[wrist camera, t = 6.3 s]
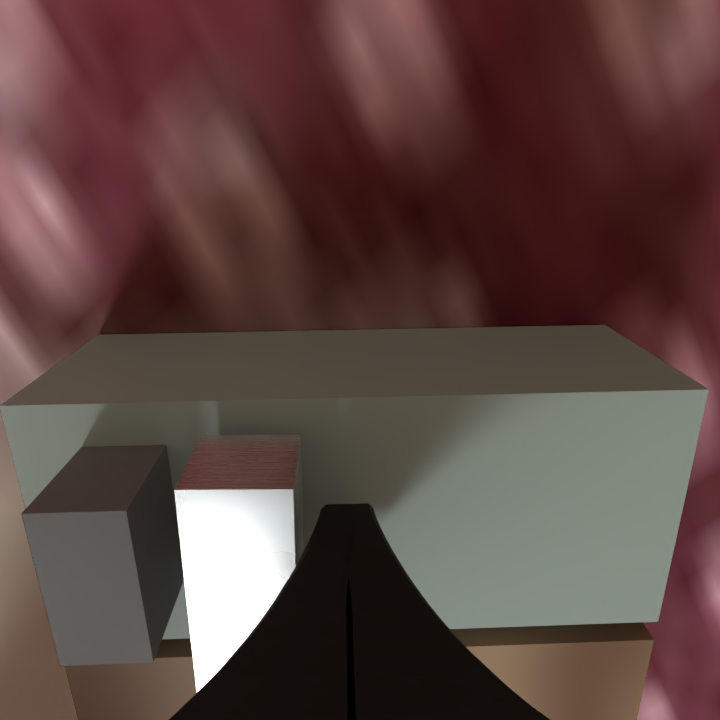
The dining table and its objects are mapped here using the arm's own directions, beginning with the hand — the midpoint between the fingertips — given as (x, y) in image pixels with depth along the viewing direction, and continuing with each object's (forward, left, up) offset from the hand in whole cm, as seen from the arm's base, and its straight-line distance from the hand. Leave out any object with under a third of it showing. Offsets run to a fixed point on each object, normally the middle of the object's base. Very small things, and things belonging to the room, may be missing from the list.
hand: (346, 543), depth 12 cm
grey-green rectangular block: (0, 0, -6) cm, 6 cm away
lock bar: (-2, -3, 0) cm, 4 cm away
